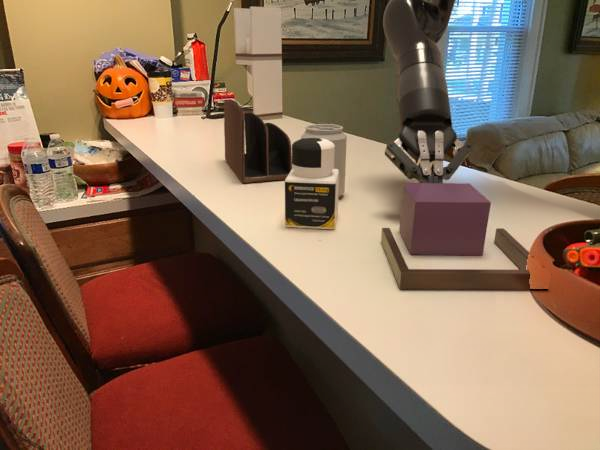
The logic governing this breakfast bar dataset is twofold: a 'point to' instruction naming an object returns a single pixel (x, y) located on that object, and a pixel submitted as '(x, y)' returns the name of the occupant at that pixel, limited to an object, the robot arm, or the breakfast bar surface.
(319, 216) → the medicine bottle
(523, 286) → the bay
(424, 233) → the block
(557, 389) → the breakfast bar surface
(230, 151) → the letter holder
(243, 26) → the white stepped pillar
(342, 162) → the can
